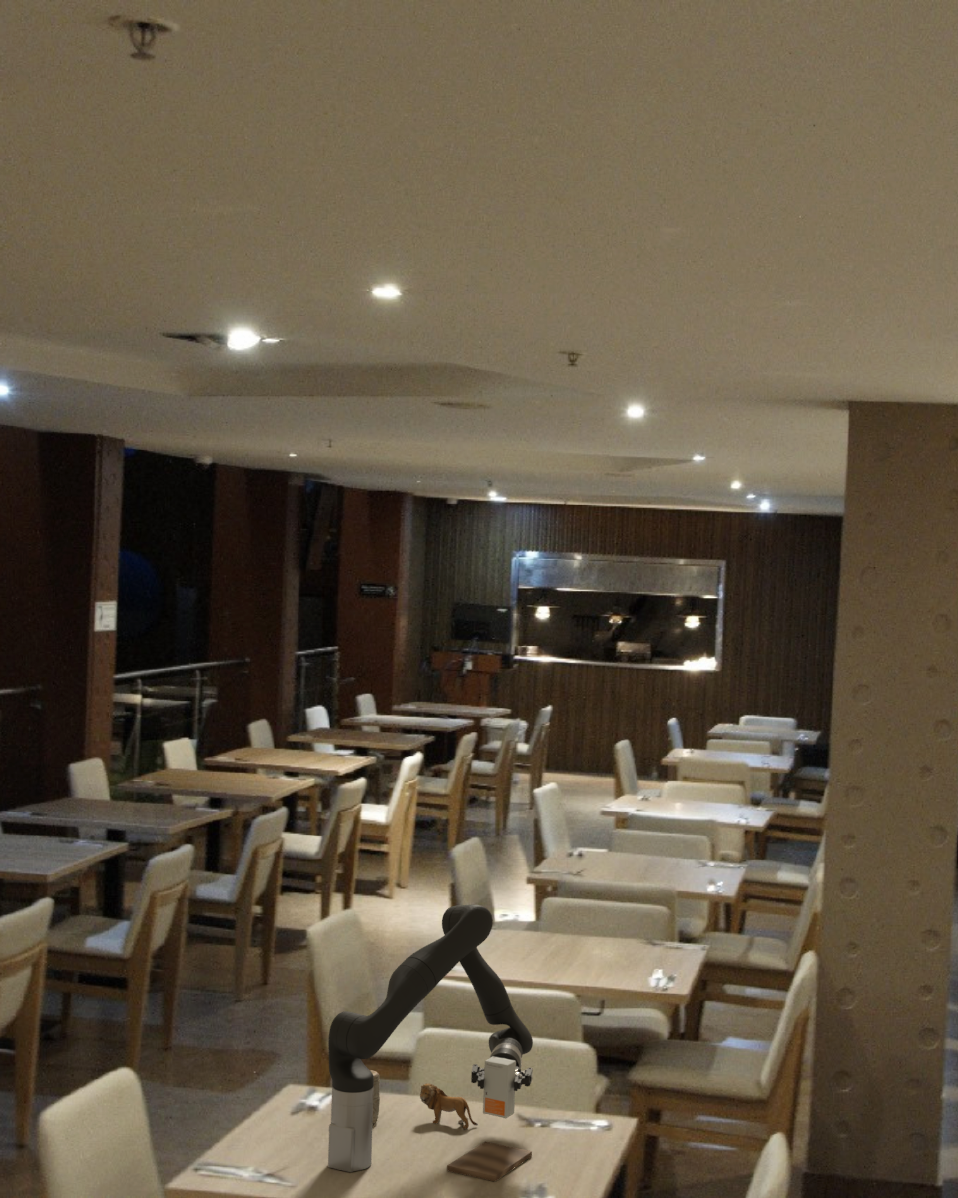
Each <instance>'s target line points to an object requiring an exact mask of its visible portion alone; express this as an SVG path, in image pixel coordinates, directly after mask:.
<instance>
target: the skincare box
mask: <svg viewBox="0 0 958 1198" xmlns="http://www.w3.org/2000/svg"><path fill="white" fill-rule="evenodd" d="M484 1067H485V1069H484V1088H483V1096H482V1098H483V1101H482V1103H483V1104H482V1113H483V1114H484V1115H489V1116H490V1115H491V1116H494V1117H497V1118H498V1117H499V1118H503V1119H508V1118H509V1117H511V1116H512V1115H514V1114H515V1105H516V1103H515V1101H516V1100H515V1099H516V1091H514V1081H515V1075H516V1061H515V1060H509V1059H506V1058H498V1057H491V1058H490V1057H489V1058H488V1059H485V1060H484Z"/></svg>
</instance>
